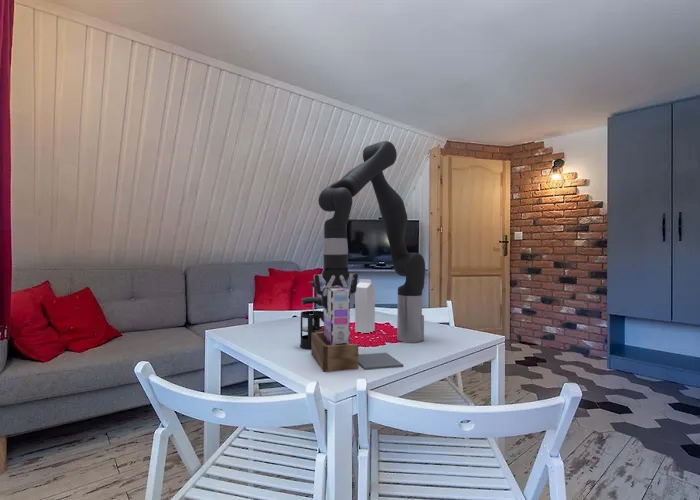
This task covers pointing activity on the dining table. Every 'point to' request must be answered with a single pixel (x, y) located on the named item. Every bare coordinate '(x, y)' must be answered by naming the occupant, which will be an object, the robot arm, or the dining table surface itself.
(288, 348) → the dining table surface
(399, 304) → the robot arm
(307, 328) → the french press
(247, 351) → the dining table surface
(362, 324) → the milk
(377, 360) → the mat
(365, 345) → the dining table surface
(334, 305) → the candy box
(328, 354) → the holder
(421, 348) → the dining table surface
